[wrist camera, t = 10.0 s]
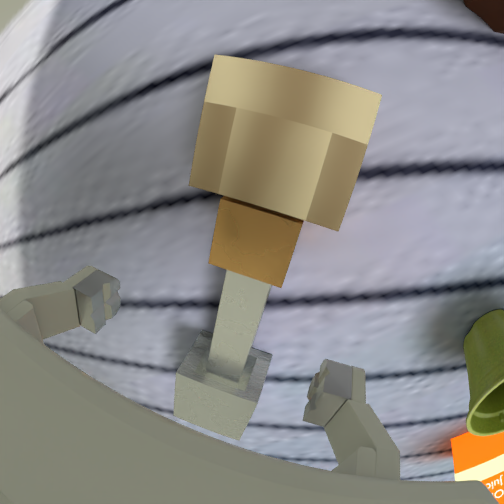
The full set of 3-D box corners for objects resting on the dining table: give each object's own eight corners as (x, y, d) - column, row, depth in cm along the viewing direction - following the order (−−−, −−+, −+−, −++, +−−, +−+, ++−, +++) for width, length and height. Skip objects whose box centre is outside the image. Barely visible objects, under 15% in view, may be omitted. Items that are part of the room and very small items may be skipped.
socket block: (366, 101, 17) (381, 94, 11) (337, 197, 20) (338, 231, 15) (249, 70, 18) (214, 54, 12) (228, 164, 21) (188, 185, 16)
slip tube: (322, 156, 19) (318, 172, 14) (256, 355, 28) (239, 402, 23) (258, 138, 19) (230, 148, 14) (213, 340, 28) (189, 384, 23)
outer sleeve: (272, 354, 28) (257, 403, 23) (253, 398, 32) (239, 440, 26) (202, 329, 29) (176, 372, 23) (194, 376, 32) (173, 415, 27)
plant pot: (437, 322, 22) (461, 399, 14) (523, 274, 18) (569, 336, 10) (455, 380, 24) (469, 447, 17) (527, 342, 20) (556, 401, 12)
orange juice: (503, 435, 26) (516, 542, 9) (453, 456, 30) (456, 564, 13) (505, 414, 24) (525, 537, 7) (450, 438, 28) (454, 564, 11)
